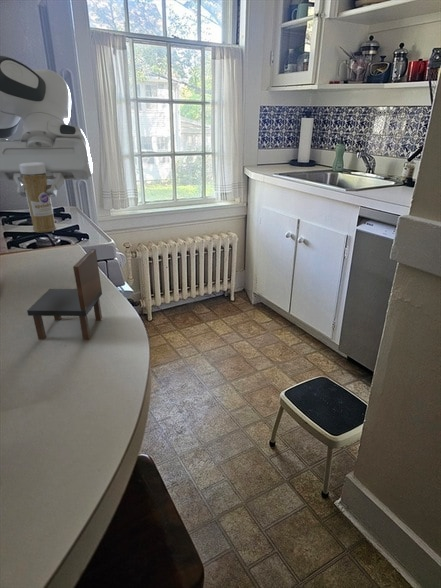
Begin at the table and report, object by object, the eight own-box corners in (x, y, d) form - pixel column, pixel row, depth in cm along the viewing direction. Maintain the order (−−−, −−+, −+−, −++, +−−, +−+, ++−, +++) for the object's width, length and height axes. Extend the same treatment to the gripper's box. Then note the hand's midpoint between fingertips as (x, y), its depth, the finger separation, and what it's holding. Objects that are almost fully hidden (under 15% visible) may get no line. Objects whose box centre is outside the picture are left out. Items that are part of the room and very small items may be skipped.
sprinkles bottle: (45, 234, 79) (31, 164, 73) (28, 232, 81) (13, 163, 75) (61, 228, 83) (49, 162, 77) (44, 226, 84) (31, 161, 79)
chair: (34, 340, 69) (16, 266, 63) (55, 316, 77) (41, 248, 71) (90, 341, 68) (77, 266, 62) (105, 317, 77) (95, 248, 71)
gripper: (-14, 128, 79) (-26, 186, 75) (88, 128, 80) (83, 184, 76) (1, 150, 85) (-9, 204, 81) (96, 149, 86) (92, 203, 82)
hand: (37, 195), depth 78 cm, fingers closed on sprinkles bottle, 4 cm apart
